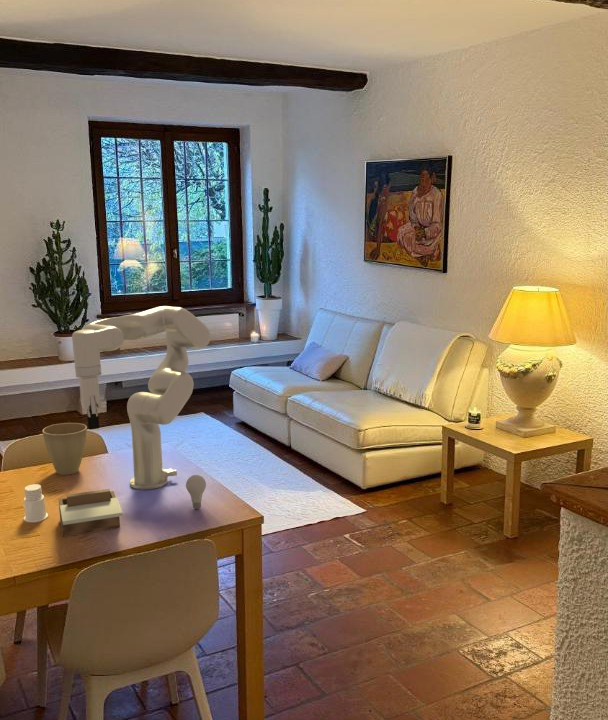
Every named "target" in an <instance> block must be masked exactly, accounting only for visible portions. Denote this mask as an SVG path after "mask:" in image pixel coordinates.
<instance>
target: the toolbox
mask: <svg viewBox="0 0 608 720" xmlns="http://www.w3.org/2000/svg"><path fill="white" fill-rule="evenodd" d="M110 495H111V498H116V494H115V491H113V490H112V491H111V490H110ZM60 505H67V497H61V498H58V510H59V522H60V528H61V535H62V538H64V537H71V536H77V535H83V534H89V533H96V532H103V531H108V530H109V531H110V530H115V529H120V528H121V519H120V517H121V516H119V517H112V518H106V519H99V520H93V521H86V522H80V523H73V524H66V525H63V522H62V516H61V510H60Z"/></svg>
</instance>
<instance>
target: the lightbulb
mask: <svg viewBox="0 0 608 720" xmlns="http://www.w3.org/2000/svg"><path fill="white" fill-rule="evenodd" d="M185 482H186V483H185V488H186V490H187V492H188V493H189V496H190V499H191V502H192V508H193V509H194V510H199V509H200V508H201V506H202V501H203V495H204V493H205V489H206V487H207V483H206V480H205V478H204V477H203V476H201V475H199V474H193V475H191V476H189V477H188V479H187V480H186V481H185Z"/></svg>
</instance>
